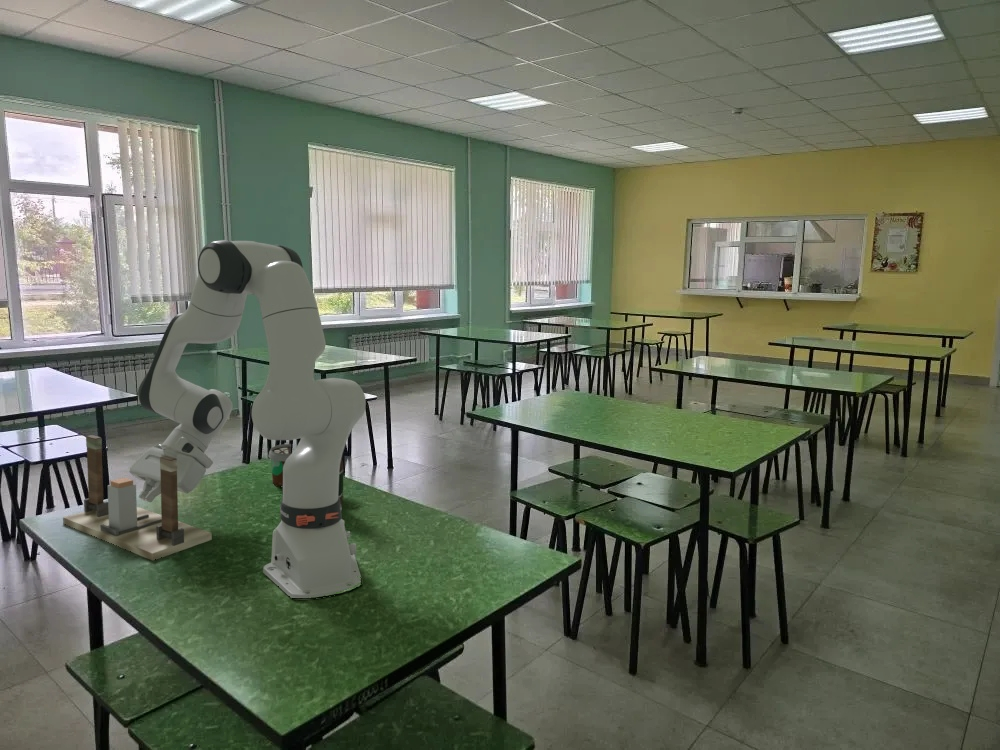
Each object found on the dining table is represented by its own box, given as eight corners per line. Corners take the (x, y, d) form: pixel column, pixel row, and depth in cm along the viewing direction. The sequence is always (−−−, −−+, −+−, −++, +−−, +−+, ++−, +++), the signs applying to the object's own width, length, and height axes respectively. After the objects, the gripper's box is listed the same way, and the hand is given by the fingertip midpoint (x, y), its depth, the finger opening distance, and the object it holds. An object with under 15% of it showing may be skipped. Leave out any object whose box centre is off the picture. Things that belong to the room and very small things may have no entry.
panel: (211, 539, 150) (211, 520, 149) (152, 560, 138) (152, 539, 137) (122, 507, 167) (122, 489, 166) (63, 523, 154) (62, 504, 154)
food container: (268, 476, 197) (269, 443, 196) (290, 476, 199) (290, 443, 197) (267, 490, 185) (267, 455, 184) (290, 489, 187) (291, 454, 186)
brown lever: (168, 534, 146) (166, 455, 143) (179, 538, 144) (177, 458, 142) (160, 537, 144) (159, 457, 142) (171, 541, 143) (169, 460, 140)
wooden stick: (95, 507, 160) (93, 434, 157) (104, 511, 158) (102, 437, 155) (88, 509, 158) (85, 436, 155) (97, 513, 156) (94, 438, 154)
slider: (126, 523, 152) (125, 476, 151) (137, 527, 150) (135, 480, 149) (109, 528, 149) (107, 480, 147) (119, 532, 147) (118, 484, 145)
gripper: (146, 436, 163) (107, 484, 156) (201, 449, 153) (162, 501, 146) (164, 450, 167) (127, 498, 160) (218, 464, 157) (181, 515, 150)
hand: (144, 500), depth 153 cm, fingers closed
